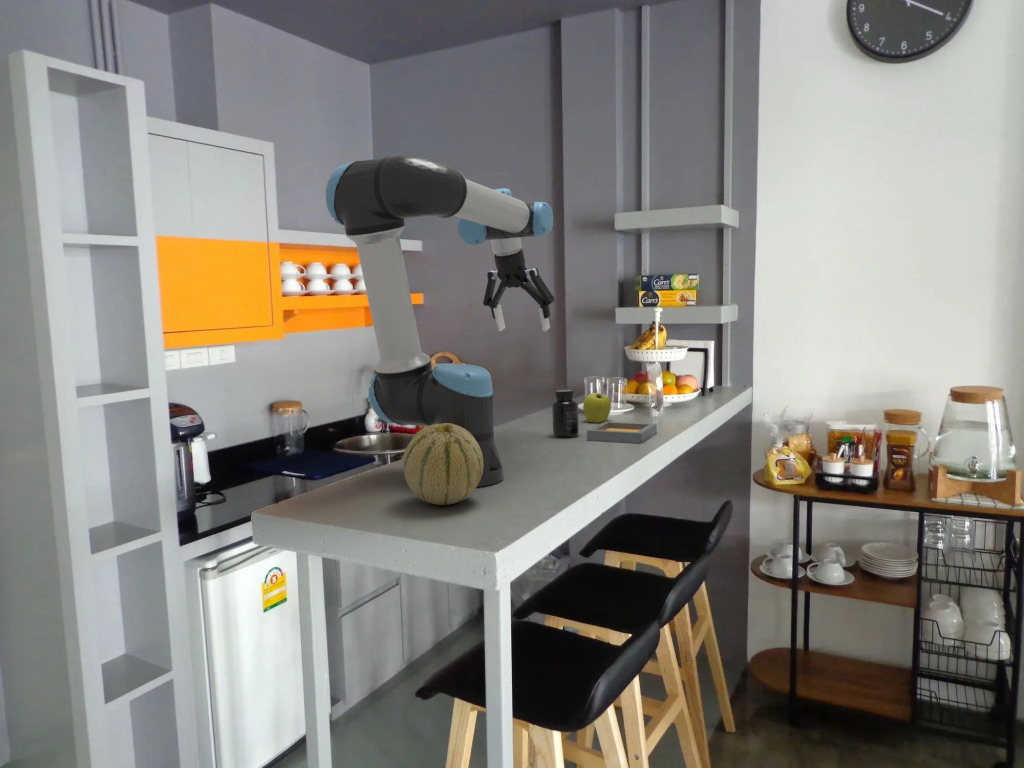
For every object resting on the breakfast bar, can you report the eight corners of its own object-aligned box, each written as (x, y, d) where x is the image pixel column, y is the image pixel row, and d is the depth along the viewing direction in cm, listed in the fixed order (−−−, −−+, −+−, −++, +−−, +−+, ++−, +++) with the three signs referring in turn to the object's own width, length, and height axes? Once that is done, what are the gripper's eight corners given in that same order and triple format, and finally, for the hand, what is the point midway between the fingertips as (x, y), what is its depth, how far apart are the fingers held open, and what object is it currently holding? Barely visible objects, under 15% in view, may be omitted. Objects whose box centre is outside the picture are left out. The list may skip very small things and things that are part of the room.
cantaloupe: (445, 488, 148) (441, 412, 146) (502, 499, 139) (499, 418, 137) (386, 506, 137) (382, 424, 135) (444, 520, 127) (440, 432, 126)
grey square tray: (641, 443, 185) (640, 433, 185) (587, 440, 191) (586, 430, 191) (656, 433, 198) (656, 423, 197) (605, 430, 204) (605, 421, 203)
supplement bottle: (579, 433, 201) (578, 388, 200) (578, 438, 194) (577, 391, 193) (553, 433, 202) (552, 389, 200) (552, 438, 195) (550, 392, 194)
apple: (578, 416, 222) (587, 383, 221) (604, 423, 222) (614, 391, 221) (579, 421, 214) (589, 387, 213) (606, 428, 214) (616, 395, 213)
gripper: (558, 244, 188) (572, 324, 196) (474, 249, 201) (491, 324, 209) (544, 253, 182) (559, 335, 191) (459, 258, 195) (477, 334, 203)
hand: (523, 329), depth 200 cm, fingers open, 13 cm apart
